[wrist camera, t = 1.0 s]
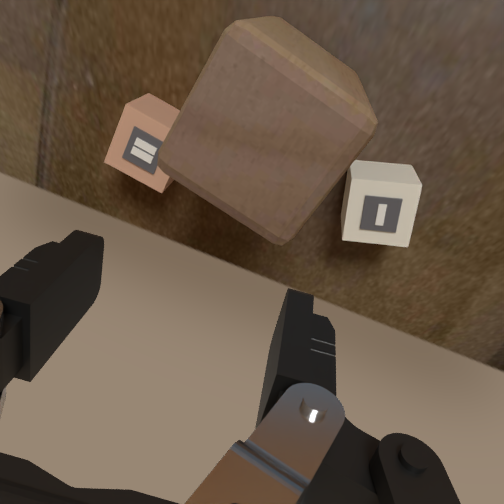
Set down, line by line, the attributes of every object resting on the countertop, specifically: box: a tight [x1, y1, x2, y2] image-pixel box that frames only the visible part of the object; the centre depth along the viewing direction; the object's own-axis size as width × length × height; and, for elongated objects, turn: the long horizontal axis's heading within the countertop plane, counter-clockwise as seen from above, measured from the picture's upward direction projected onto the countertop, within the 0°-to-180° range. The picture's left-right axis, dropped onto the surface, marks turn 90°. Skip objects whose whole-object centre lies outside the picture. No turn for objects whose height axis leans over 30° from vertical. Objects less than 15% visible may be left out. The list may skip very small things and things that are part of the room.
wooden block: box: [157, 16, 378, 246], centre depth 36 cm, size 10×10×20 cm
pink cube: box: [104, 93, 180, 193], centre depth 45 cm, size 6×6×6 cm
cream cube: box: [341, 160, 422, 247], centre depth 45 cm, size 6×6×6 cm
